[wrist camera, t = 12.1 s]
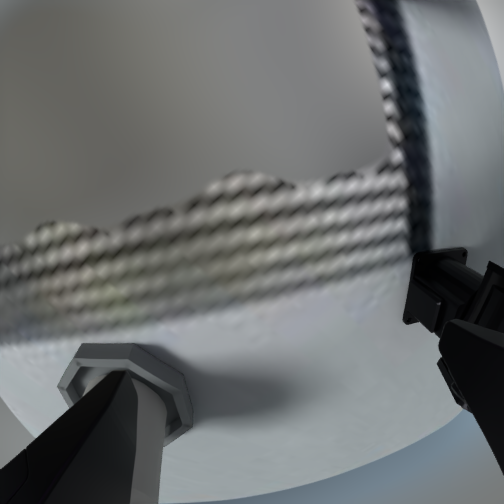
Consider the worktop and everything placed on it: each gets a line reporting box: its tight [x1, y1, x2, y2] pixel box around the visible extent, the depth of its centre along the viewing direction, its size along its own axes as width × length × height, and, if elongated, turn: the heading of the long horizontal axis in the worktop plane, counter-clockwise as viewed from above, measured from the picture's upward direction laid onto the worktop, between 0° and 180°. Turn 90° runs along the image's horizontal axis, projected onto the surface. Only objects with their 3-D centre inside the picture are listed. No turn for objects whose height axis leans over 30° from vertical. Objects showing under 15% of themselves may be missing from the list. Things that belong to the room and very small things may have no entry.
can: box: [82, 375, 167, 504], centre depth 17 cm, size 8×8×12 cm
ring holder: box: [57, 344, 193, 447], centre depth 22 cm, size 12×12×2 cm
